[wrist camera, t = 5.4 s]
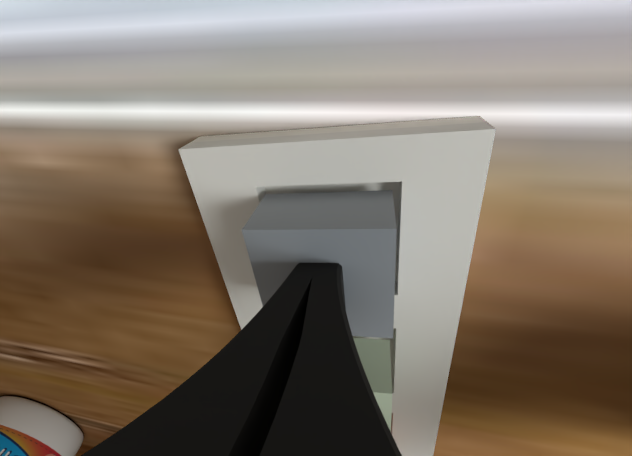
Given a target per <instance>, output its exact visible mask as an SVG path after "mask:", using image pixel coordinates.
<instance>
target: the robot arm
mask: <svg viewBox="0 0 632 456" xmlns="http://www.w3.org/2000/svg"><path fill="white" fill-rule="evenodd" d="M81 456H402V455H401V453H400V451H399V449H398V447H397V445H396V442H395V440H394V438H393V436H392V434H391V431H390V429H389V427H388V425H387V423H386V421H385V418H384V416H383V414H382V412H381V410H380V407H379V405H378V403H377V401H376V398H375V396H374V393H373V391H372V389H371V386H370V384H369V381H368V379H367V376H366V373H365V371H364V368H363V365H362V363H361V360H360V357H359V354H358V351H357V348H356V345H355V342H354V339H353V336H352V332H351V329H350V325H349V322H348V318H347V314H346V307H345V295H344V283H343V271H342V266H341V265H340V264H339V263H298V264H297V265H296V266H295V268H294V269H293V270H292V272H291V273H290V274H289V276H288V277H287V278H286V279H285V281H284V282H283V283H282V284H281V286H280V287H279V288H278V289H277V291H276V292H275V293H274V294H273V295H272V297H271V298H270V299H269V300H268V301H267V302H266V304H265V305H264V306H263V307H262V308H261V309H260V311H259V312H258V313H257V314H256V315H255V316H254V317H253V318H252V319H251V320H250V321H249V323H248V324H247V325H246V326H245V327H244V328H243V329H242V330H241V331H240V332H239V333H238V334H237V335H236V336H235V337H234V338H233V339H232V340H231V341H230V342H229V343H228V344H227V345H226V346H225V347H224V348H223V349H222V350H221V351H220V352H219V353H218V354H216V355H215V356H214V357H213V358H212V359H211V360H210V361H209V362H208V363H206V364H205V365H204V366H203V367H202V368H201V369H199V370H198V371H197V372H196V373H195V374H194V375H192V376H191V377H190V378H189V379H188V380H186V381H185V382H184V383H183V384H181V385H180V386H179V387H178V388H176V389H175V390H174V391H173V392H171V393H170V394H169V395H168V396H166V397H165V398H164V399H163V400H161V401H160V402H158V403H157V404H156V405H154V406H153V407H152V408H150V409H149V410H147V411H146V412H145V413H143V414H142V415H141V416H139V417H138V418H136V419H135V420H134V421H132V422H131V423H129V424H128V425H127V426H125V427H124V428H122V429H121V430H119V431H118V432H117V433H115V434H114V435H112V436H111V437H109V438H108V439H106V440H105V441H103V442H102V443H100V444H99V445H97V446H95V447H94V448H92V449H91V450H89V451H88V452H86V453H84V454H83V455H81Z"/></svg>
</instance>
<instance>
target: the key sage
mask: <svg viewBox="0 0 632 456" xmlns="http://www.w3.org/2000/svg"><path fill="white" fill-rule="evenodd" d="M353 339H354V342H355V345H356V348H357V351H358V354H359V357H360V360H361V363H362V365H363V368H364V371H365V373H366V376H367V379H368V381H369V384H370V386H371V389H372V391H373V393H374V396H375V398H376V401H377V403H378V405H379V407H380V410H381V412H382V414H383V416H384V418H385V421H386V423H387V425H388V427H389V429H390V431H391V414H392V379H391V359H390V340H379V339H363V338H353Z"/></svg>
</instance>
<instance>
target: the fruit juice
mask: <svg viewBox="0 0 632 456" xmlns="http://www.w3.org/2000/svg"><path fill="white" fill-rule="evenodd" d="M83 438H84V437H83V433H82V431H81V430H80V428H79V427H78V426H77V425H76V424H75V423H73V422H72V421H71V420H70V419H68V418H67V417H65V416H64V415H62V414H60V413H59V412H57V411H55V410H53V409H51V408H49V407H47V406H45V405H42V404H40V403H37V402H35V401H32V400H29V399H25V398H21V397H15V396H2V397H0V456H75V454H76V453H77V451H78V450H79V448H80V446H81V444H82V442H83Z"/></svg>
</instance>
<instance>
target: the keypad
mask: <svg viewBox="0 0 632 456" xmlns="http://www.w3.org/2000/svg"><path fill="white" fill-rule="evenodd" d="M495 131H496V129H495V128H494V127H493V126H492V125H490V124H489V123H488V122H487V121H485V120H484V119H483V118H482V117H480V116H473V117H460V118H446V119H432V120H418V121H404V122H391V123H377V124H363V125H349V126H336V127H322V128H308V129H294V130H281V131H267V132H253V133H239V134H225V135H212V136H200V137H198V138H197V139H195V140H193V141H192V142H190V143H188V144H187V145H185V146H183V147H182V148H180V149H178V150H179V153H180V156H181V159H182V161H183V164H184V167H185V170H186V173H187V176H188V179H189V182H190V184H191V187H192V190H193V193H194V196H195V199H196V202H197V204H198V207H199V210H200V213H201V216H202V219H203V222H204V224H205V227H206V230H207V233H208V236H209V239H210V242H211V245H212V247H213V250H214V253H215V256H216V259H217V262H218V265H219V267H220V270H221V273H222V276H223V279H224V282H225V285H226V287H227V290H228V293H229V296H230V299H231V302H232V305H233V308H234V310H235V313H236V316H237V319H238V322H239V325H240V328H241V330H242V329H243V328H244V327H245V326H246V325H247V324H248V323H249V321H250V320H251V319H252V318H253V317H254V316H255V315H256V314H257V313H258V312H259V311H260V309H261V308H262V307H263V305H262V302H261V298H260V294H259V291H258V287H257V284H256V280H255V276H254V273H253V269H252V266H251V262H250V259H249V255H248V251H247V248H246V244H245V241H244V237H243V233H242V229H243V227H244V226H245V224H246V223H247V221H248V220H249V218H250V217H251V215H252V214H253V212H254V211H255V209H256V208H257V206H258V205H259V203H260V202H261V200H262V199H263V197H264V196H265V194H284V193H316V192H348V191H380V190H392V192H393V201H394V210H395V219H396V228H397V231H396V263H395V294H394V325H393V338H377V337H360V336H353V338H363V339H379V340H390V359H391V379H392V414H391V434H392V436H393V438H394V440H395V442H396V445H397V447H398V449H399V451H400V453H401V455H402V456H433V453H434V448H435V443H436V438H437V433H438V427H439V422H440V417H441V412H442V407H443V402H444V396H445V391H446V386H447V381H448V376H449V370H450V365H451V360H452V355H453V350H454V344H455V339H456V334H457V329H458V324H459V318H460V313H461V308H462V303H463V298H464V292H465V287H466V282H467V277H468V272H469V266H470V261H471V256H472V251H473V246H474V240H475V235H476V230H477V225H478V220H479V214H480V209H481V204H482V199H483V194H484V188H485V183H486V178H487V173H488V168H489V162H490V157H491V152H492V147H493V142H494V136H495Z"/></svg>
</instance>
